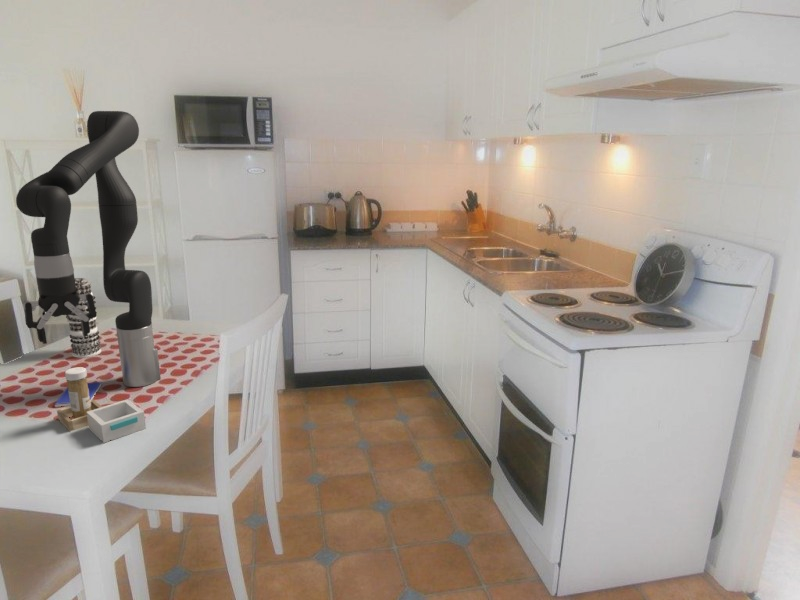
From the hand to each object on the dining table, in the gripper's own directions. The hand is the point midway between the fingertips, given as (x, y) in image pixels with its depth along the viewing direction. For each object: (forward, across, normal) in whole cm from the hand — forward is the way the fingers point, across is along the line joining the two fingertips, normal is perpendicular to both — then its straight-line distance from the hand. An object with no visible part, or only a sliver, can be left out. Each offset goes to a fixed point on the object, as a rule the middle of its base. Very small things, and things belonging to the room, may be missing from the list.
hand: (65, 339), depth 132 cm
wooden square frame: (+22, -1, 0) cm, 22 cm away
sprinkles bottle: (+22, -1, 0) cm, 22 cm away
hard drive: (+23, -3, -16) cm, 28 cm away
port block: (+22, -7, +10) cm, 25 cm away
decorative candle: (+22, -12, -51) cm, 57 cm away
